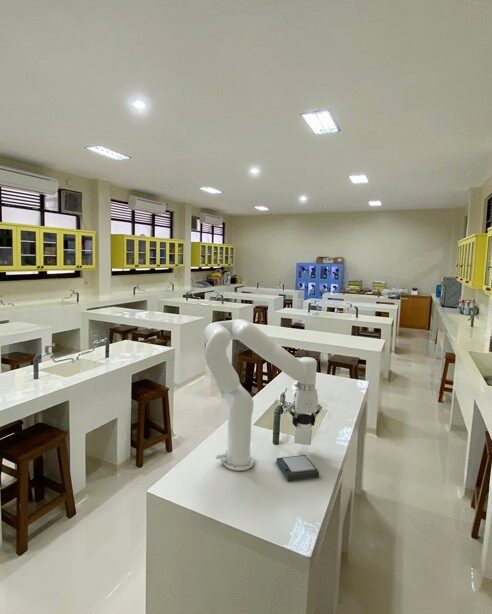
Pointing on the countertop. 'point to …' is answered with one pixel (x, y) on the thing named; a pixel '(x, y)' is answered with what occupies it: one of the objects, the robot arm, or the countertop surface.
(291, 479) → the lab scale
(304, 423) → the medicine bottle
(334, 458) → the countertop surface
